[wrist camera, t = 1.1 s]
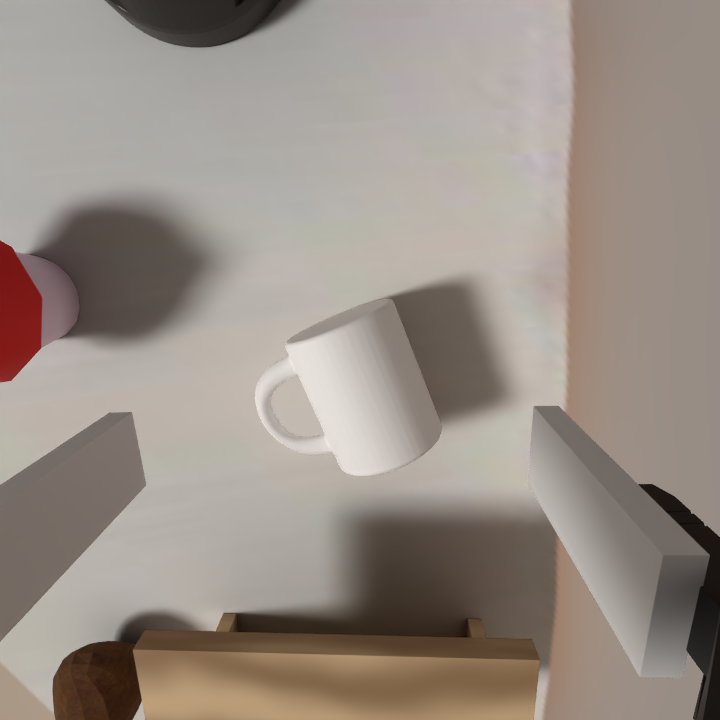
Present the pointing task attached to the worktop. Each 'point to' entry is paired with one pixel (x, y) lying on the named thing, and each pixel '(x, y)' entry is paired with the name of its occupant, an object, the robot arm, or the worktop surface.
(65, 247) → the worktop surface
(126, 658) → the potato
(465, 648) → the small wooden shelf
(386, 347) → the mug
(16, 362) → the mushroom
